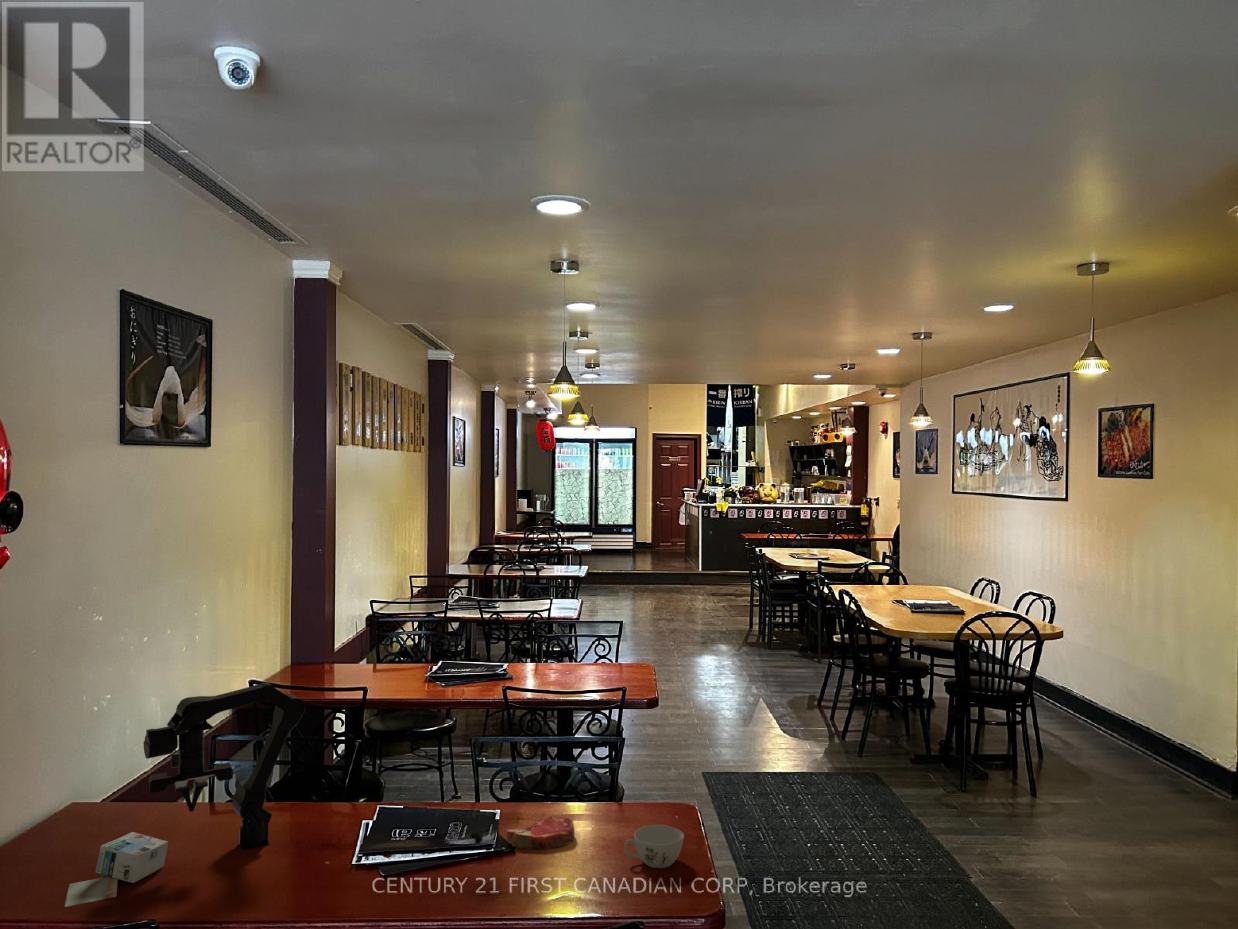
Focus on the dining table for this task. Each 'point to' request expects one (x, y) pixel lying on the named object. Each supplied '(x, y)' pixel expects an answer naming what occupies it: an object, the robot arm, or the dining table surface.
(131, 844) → the light bulb box
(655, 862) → the teacup
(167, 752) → the robot arm
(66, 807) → the dining table surface
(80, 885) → the gray and beige tray
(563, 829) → the steak
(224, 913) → the dining table surface
